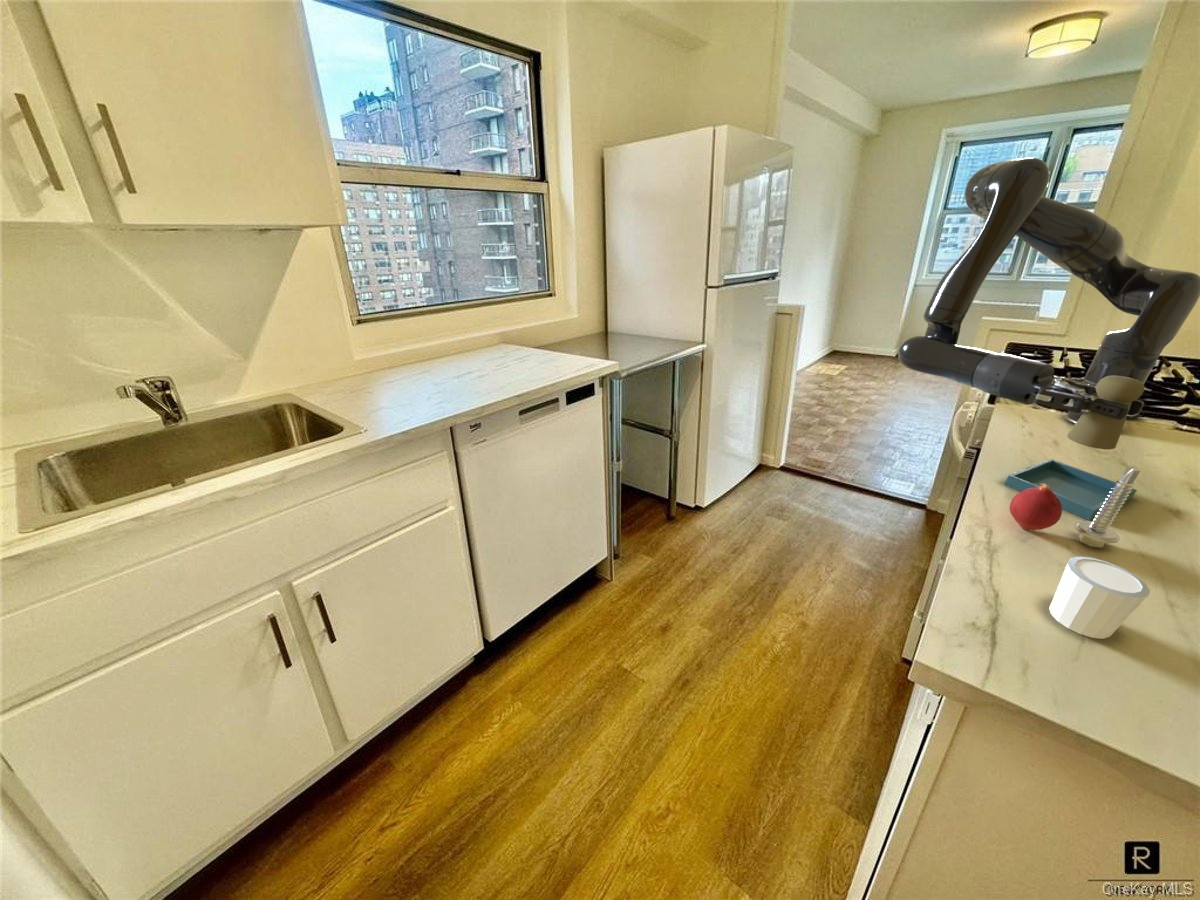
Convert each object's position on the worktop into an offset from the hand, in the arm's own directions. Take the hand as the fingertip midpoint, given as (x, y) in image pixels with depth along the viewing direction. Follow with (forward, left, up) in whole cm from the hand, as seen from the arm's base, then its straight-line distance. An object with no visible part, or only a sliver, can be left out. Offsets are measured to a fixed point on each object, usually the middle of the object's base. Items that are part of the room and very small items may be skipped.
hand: (1133, 411), depth 75 cm
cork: (0, -3, -7) cm, 7 cm away
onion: (+19, +1, -16) cm, 25 cm away
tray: (0, -2, -16) cm, 16 cm away
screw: (+14, +7, -16) cm, 23 cm away
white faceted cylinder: (+34, +14, -16) cm, 40 cm away
